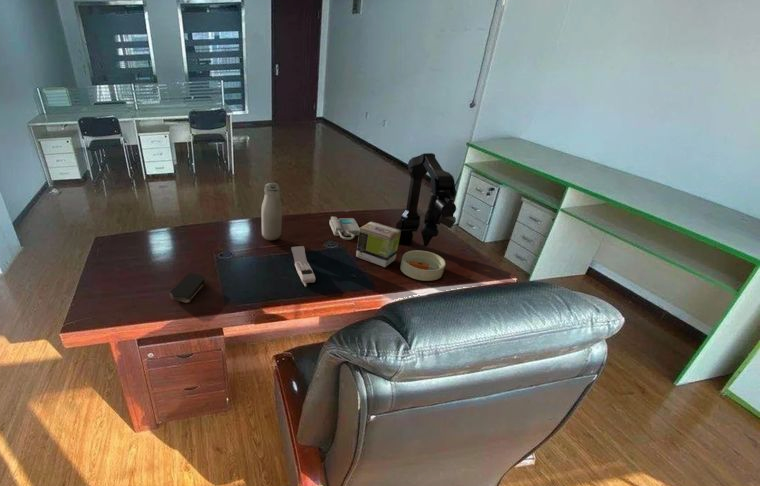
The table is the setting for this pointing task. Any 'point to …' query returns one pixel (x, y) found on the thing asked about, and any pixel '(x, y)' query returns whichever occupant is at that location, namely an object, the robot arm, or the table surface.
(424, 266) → the knife
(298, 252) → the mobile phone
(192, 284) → the black sponge
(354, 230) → the intercom
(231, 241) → the table surface
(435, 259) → the bowl
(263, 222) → the white water bottle
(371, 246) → the tea box
